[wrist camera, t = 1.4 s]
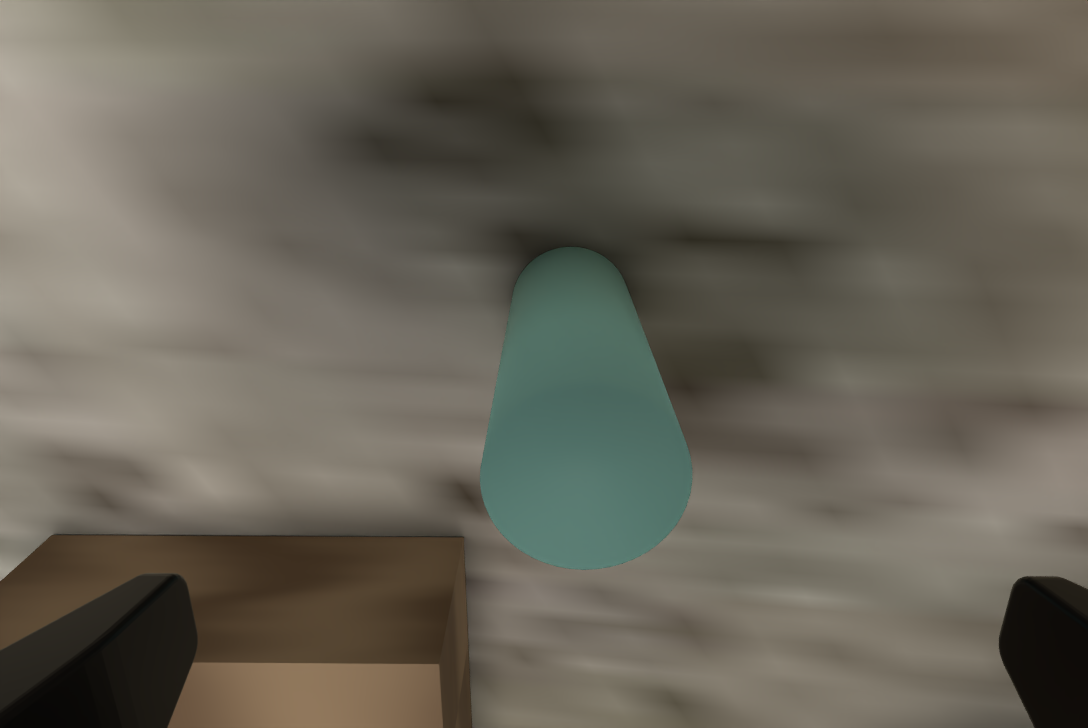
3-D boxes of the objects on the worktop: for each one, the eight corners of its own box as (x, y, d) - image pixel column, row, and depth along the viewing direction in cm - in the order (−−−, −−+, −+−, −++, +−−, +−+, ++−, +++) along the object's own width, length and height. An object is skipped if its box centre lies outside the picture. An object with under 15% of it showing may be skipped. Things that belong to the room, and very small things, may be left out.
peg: (631, 246, 18) (700, 383, 10) (626, 359, 19) (684, 570, 11) (511, 246, 18) (476, 381, 10) (512, 359, 19) (483, 568, 11)
